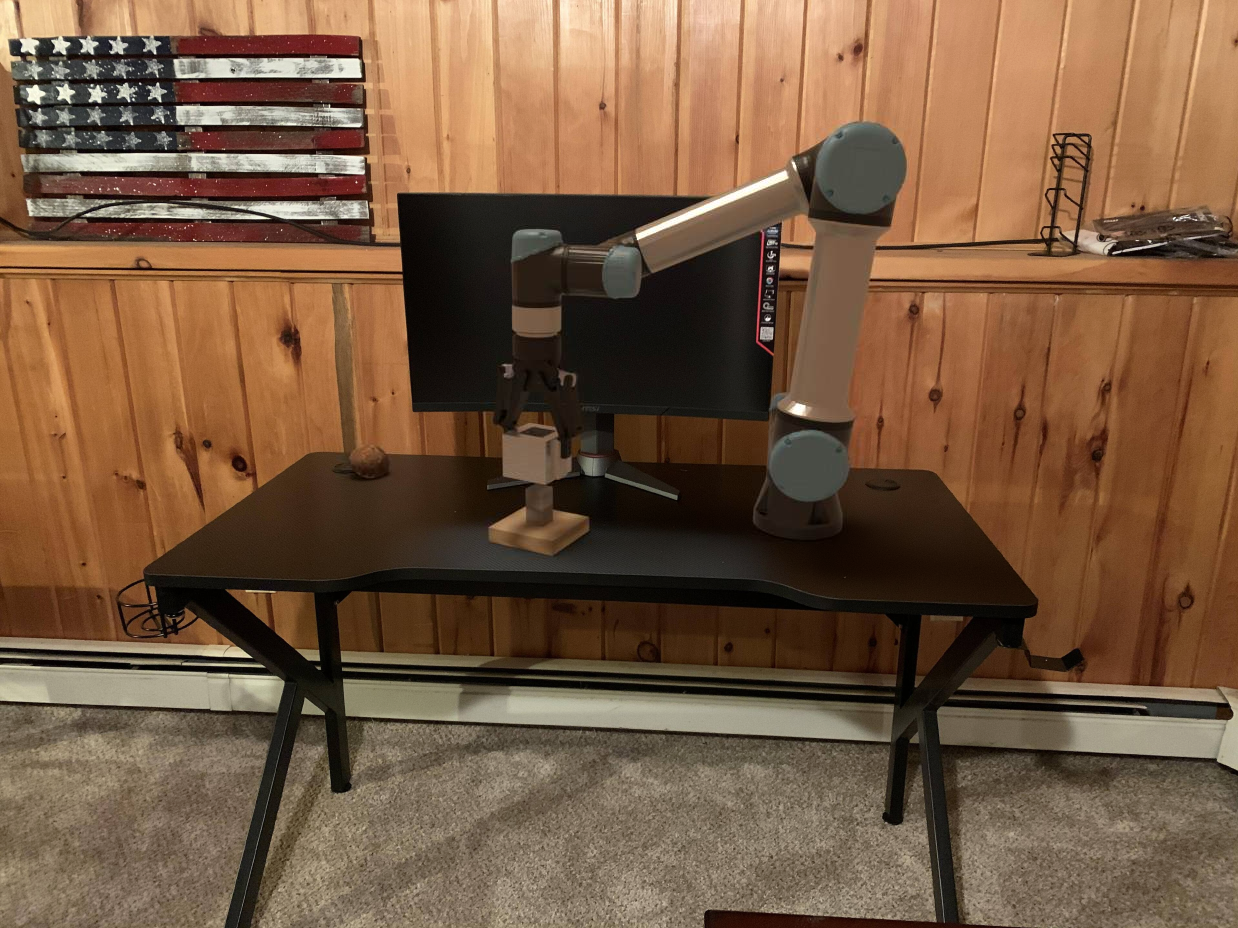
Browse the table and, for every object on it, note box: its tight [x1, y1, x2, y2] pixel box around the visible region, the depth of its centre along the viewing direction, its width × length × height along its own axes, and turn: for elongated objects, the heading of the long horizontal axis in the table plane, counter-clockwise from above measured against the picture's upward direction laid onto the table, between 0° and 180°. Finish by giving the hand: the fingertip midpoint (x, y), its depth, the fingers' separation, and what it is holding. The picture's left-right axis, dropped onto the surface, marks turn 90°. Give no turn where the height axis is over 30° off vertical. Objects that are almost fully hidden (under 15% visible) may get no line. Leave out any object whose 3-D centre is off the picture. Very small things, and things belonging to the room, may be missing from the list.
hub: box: [501, 422, 572, 485], centre depth 148 cm, size 8×8×7 cm
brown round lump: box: [348, 443, 390, 479], centre depth 181 cm, size 8×8×6 cm
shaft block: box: [488, 483, 590, 557], centre depth 151 cm, size 12×12×8 cm
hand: (537, 472), depth 149 cm, fingers closed on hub, 8 cm apart
